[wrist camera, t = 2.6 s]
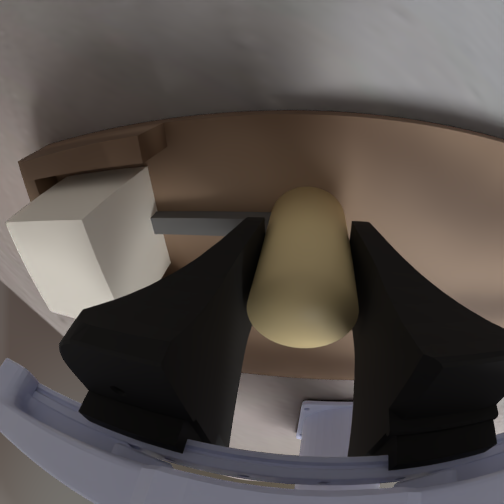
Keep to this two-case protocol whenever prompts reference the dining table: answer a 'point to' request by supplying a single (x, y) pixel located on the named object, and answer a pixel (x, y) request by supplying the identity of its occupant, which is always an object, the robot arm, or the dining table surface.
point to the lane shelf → (326, 178)
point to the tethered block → (188, 223)
